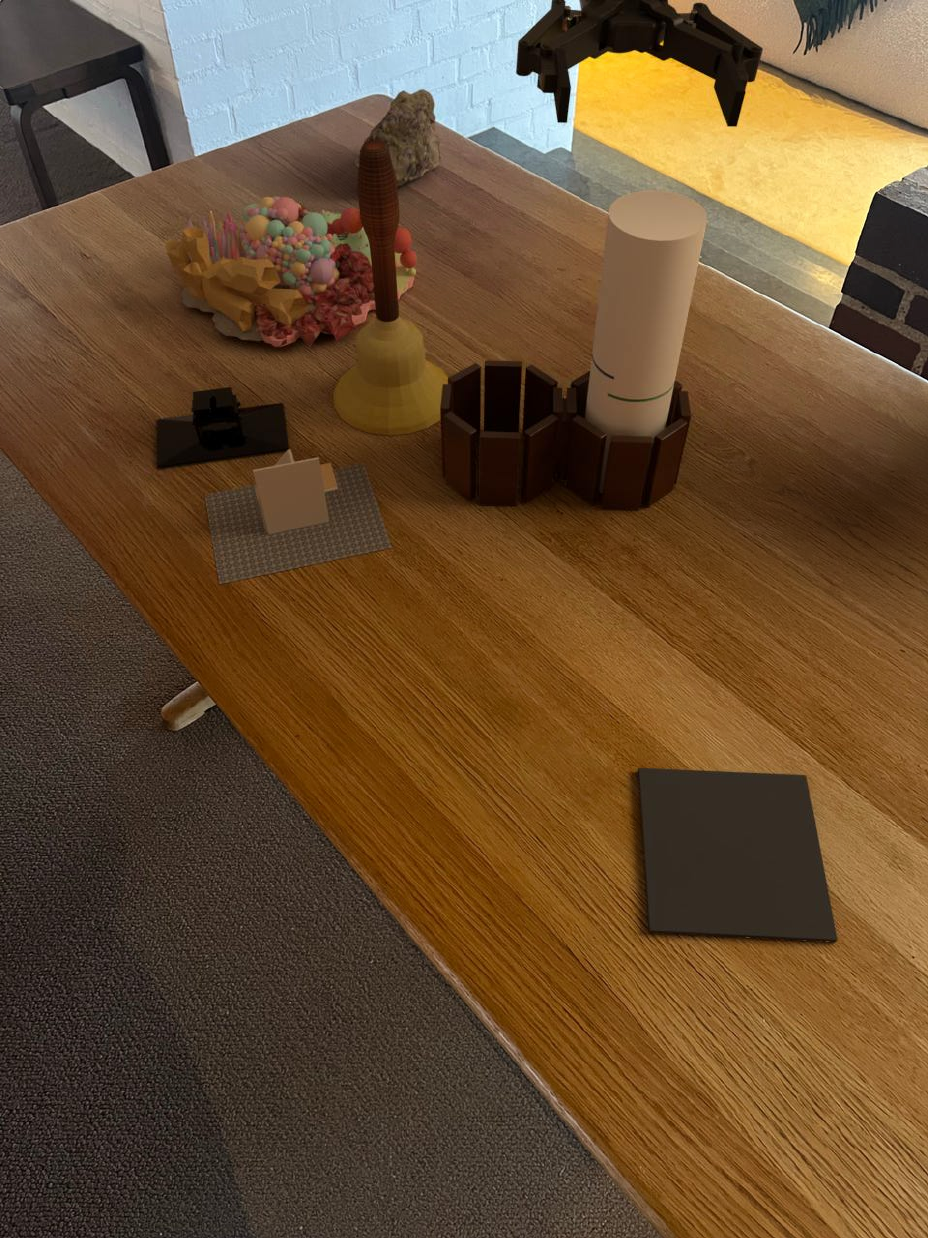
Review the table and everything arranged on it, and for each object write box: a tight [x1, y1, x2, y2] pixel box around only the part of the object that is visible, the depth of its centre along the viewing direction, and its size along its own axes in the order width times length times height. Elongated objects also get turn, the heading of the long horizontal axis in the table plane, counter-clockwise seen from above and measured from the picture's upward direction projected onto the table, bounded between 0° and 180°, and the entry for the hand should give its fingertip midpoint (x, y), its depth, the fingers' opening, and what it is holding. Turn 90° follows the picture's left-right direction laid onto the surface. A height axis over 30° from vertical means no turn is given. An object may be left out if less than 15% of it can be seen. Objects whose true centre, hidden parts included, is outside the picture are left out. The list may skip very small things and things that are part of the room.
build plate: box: [156, 386, 290, 470], centre depth 91 cm, size 12×7×5 cm, turn 101°
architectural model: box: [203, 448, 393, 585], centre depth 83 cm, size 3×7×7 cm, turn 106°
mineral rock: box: [355, 88, 442, 187], centre depth 121 cm, size 13×11×10 cm
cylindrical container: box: [585, 189, 708, 494], centre depth 80 cm, size 7×7×25 cm
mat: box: [637, 767, 839, 943], centre depth 65 cm, size 12×12×1 cm
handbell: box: [332, 140, 449, 437], centre depth 87 cm, size 12×12×25 cm
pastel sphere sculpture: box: [164, 195, 418, 349], centre depth 105 cm, size 25×24×9 cm
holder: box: [440, 359, 692, 511], centre depth 87 cm, size 22×11×8 cm, turn 87°
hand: (650, 107), depth 75 cm, fingers open, 13 cm apart
